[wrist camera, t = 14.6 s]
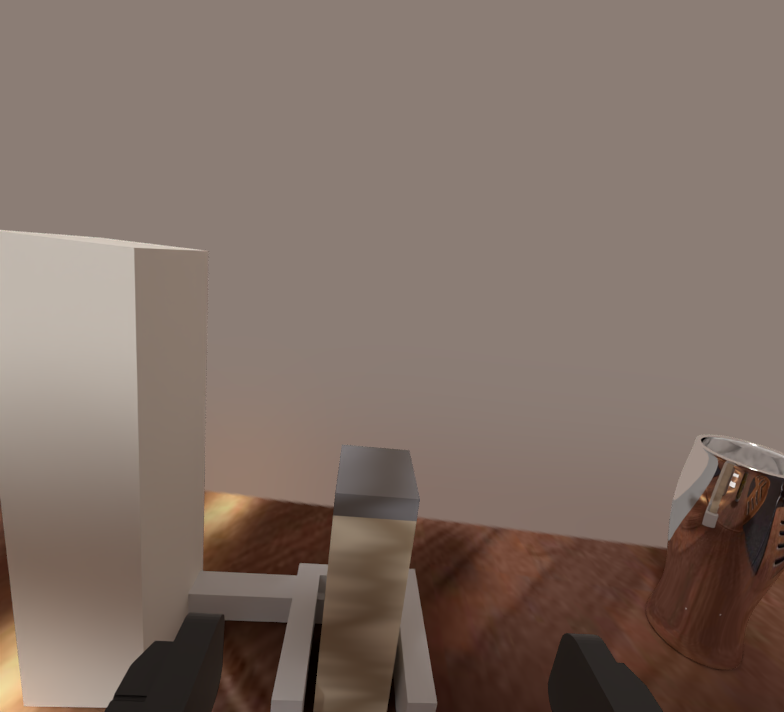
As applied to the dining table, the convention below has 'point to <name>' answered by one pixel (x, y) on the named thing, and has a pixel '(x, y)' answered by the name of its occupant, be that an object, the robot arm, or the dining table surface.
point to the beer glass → (720, 549)
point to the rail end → (366, 578)
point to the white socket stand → (127, 476)
